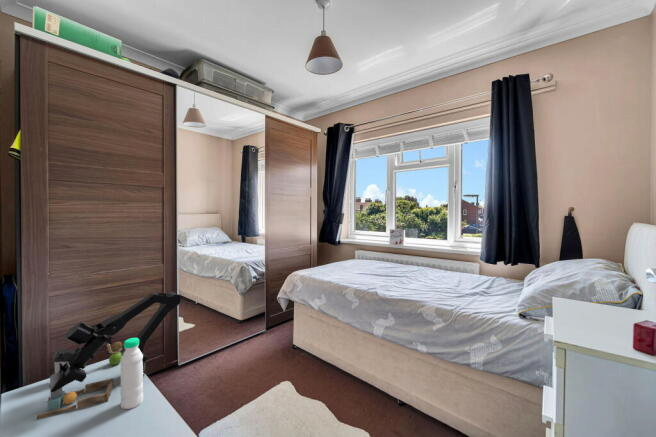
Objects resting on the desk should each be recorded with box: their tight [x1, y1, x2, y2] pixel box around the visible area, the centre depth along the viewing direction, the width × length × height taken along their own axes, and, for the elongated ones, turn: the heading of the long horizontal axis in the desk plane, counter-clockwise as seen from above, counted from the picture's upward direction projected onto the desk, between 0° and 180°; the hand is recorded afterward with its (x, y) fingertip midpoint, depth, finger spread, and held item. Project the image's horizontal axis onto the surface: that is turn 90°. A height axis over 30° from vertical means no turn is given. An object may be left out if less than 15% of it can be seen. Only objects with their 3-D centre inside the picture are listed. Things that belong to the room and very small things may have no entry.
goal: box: [35, 378, 115, 420], centre depth 107 cm, size 20×11×3 cm, turn 118°
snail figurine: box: [106, 341, 123, 366], centre depth 131 cm, size 5×6×12 cm
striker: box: [47, 372, 66, 412], centre depth 104 cm, size 3×6×12 cm, turn 29°
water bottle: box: [119, 337, 144, 410], centre depth 106 cm, size 7×7×25 cm
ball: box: [62, 391, 78, 405], centre depth 106 cm, size 4×4×4 cm
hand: (51, 389), depth 103 cm, fingers closed on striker, 3 cm apart
